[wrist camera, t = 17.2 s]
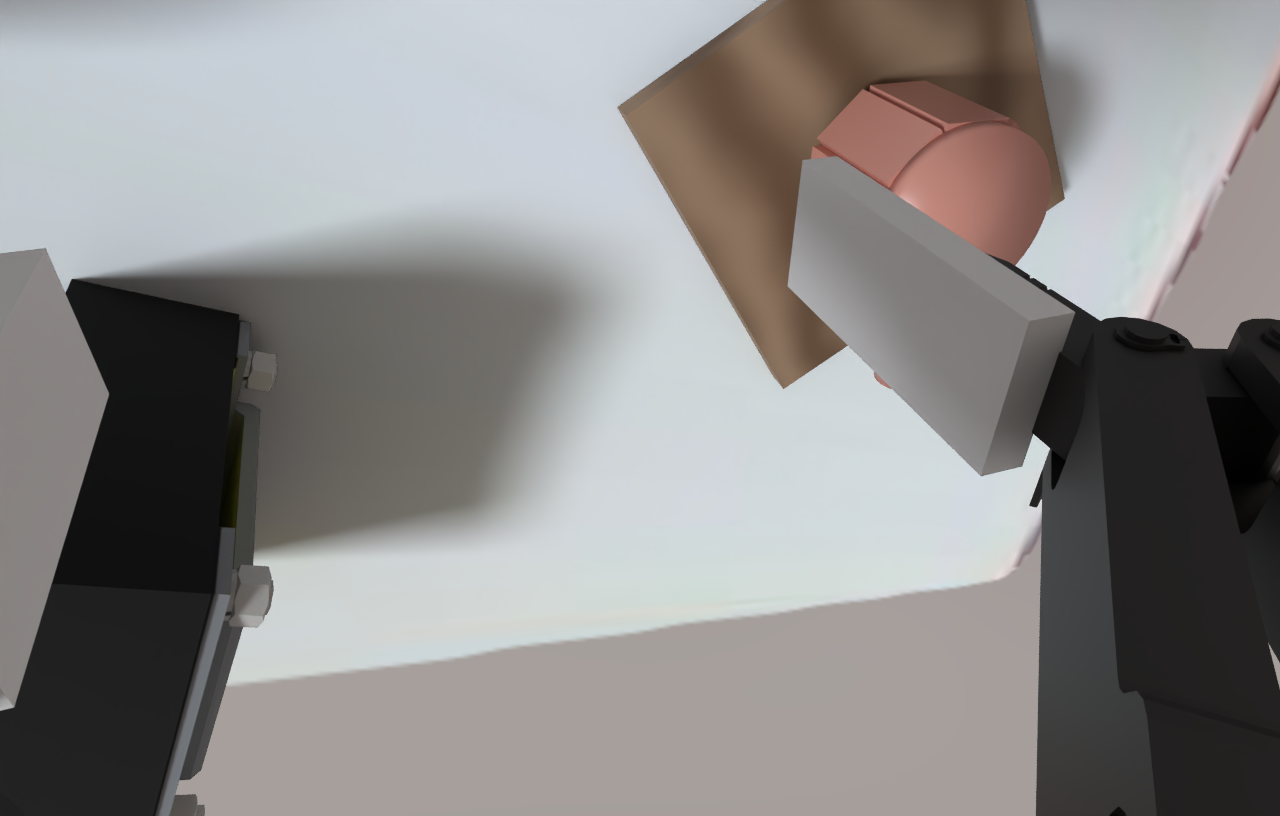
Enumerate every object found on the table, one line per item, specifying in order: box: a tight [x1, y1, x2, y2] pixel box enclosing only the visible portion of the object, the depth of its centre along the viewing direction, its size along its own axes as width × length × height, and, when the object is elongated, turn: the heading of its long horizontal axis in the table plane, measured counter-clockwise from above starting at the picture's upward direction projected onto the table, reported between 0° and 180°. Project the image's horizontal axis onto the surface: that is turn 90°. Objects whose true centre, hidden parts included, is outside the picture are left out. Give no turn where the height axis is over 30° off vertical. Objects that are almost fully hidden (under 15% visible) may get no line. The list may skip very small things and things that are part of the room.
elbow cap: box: [811, 80, 1051, 389], centre depth 47 cm, size 16×9×8 cm, turn 179°
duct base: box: [617, 0, 1065, 389], centre depth 47 cm, size 22×22×10 cm
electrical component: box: [0, 279, 278, 816], centre depth 38 cm, size 18×10×20 cm, turn 155°
